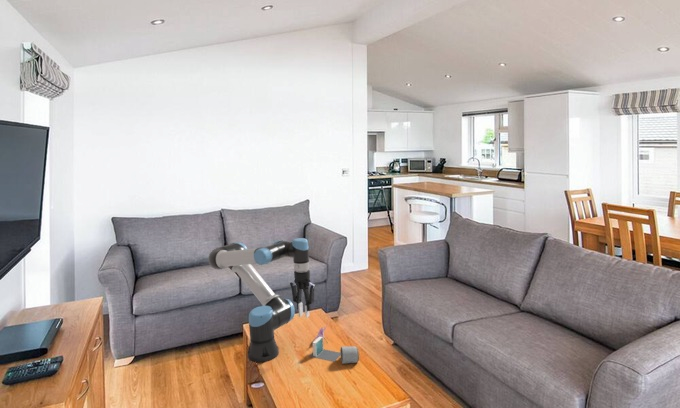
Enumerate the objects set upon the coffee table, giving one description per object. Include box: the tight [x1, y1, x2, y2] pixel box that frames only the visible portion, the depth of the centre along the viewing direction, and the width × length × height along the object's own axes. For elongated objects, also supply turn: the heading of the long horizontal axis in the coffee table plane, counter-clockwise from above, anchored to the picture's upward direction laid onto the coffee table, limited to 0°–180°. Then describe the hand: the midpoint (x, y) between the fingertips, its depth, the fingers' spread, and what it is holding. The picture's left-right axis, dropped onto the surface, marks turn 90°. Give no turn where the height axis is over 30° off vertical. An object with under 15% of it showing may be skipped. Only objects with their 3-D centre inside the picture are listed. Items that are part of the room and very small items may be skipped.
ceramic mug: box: [339, 346, 360, 365], centre depth 201 cm, size 11×8×8 cm
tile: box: [312, 337, 324, 357], centre depth 208 cm, size 2×7×7 cm, turn 154°
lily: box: [311, 325, 328, 344], centre depth 220 cm, size 12×12×10 cm
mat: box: [308, 348, 341, 363], centre depth 207 cm, size 14×9×1 cm, turn 64°
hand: (304, 316), depth 209 cm, fingers open, 3 cm apart
